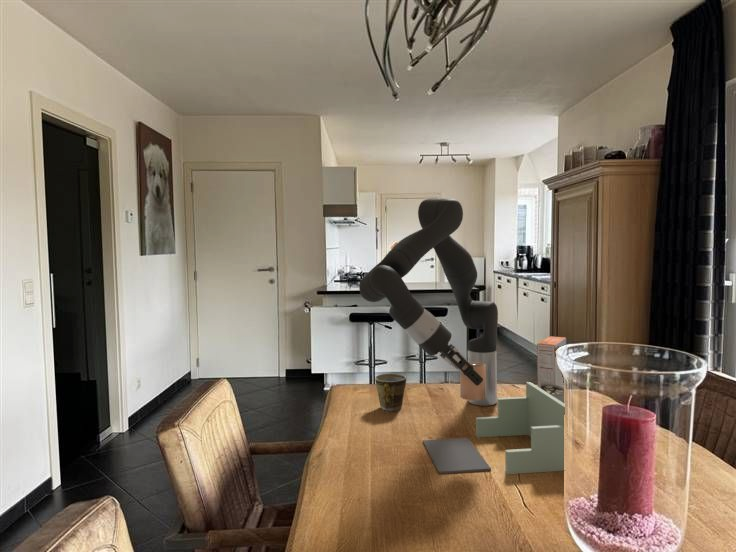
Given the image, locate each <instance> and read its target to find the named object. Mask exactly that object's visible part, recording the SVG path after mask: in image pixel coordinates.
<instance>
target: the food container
mask: <svg viewBox="0 0 736 552" xmlns="http://www.w3.org/2000/svg"><path fill="white" fill-rule="evenodd" d="M541 389H542V390H544V391H545V392H547V393H549V394H550V395H552V396H553V397H555V398H556V399H558V400H560V401H561V402H563V403H564V404H565V402H564V388H562V387H560V386H557V385H553V384H546V383H541Z"/></svg>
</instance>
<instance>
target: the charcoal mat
mask: <svg viewBox="0 0 736 552" xmlns="http://www.w3.org/2000/svg"><path fill="white" fill-rule="evenodd" d="M422 443H423V444H424V447H425V448H426V451H427V453H428V454H429V457H430V459H431V461H432V463H433V465H434V467H435V468H436V471H437V470H438V471H437V473H438V472H439V473H438V474H440V473H444V474H455V473H457V474H458V473H471V472H490V471H492V467H491V466H490V465H489V463H488V462H487V461H486V460H485V458H484V456H483V455H482V454H481V453H480V452H479V451H478V449H477V448H476V447H475V445H474V444H473V443H472V442H471V440H470V439H469V437H459V438H458V437H457V438H442V439H424V440H422ZM440 475H441V474H440Z"/></svg>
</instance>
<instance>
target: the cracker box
mask: <svg viewBox="0 0 736 552" xmlns="http://www.w3.org/2000/svg"><path fill="white" fill-rule="evenodd" d="M564 345H566V346H567V337H563V336H562V337H561V336H551V335H550V336H548V337H546V338H544V339H543V340H541V341H539V342H537V344H536V366H537V367H536V372H537V373H536V374H537V386H538V387H539V388H541V383H546V384H553V385H557V386H560V387H562V388H564V386H563V384H564V383H563V377H562V374H561V372H560V370H559V368H558V366H557V362H556V357H555V351H556V350H557V349H558V348H559V347H561V346H564Z"/></svg>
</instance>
